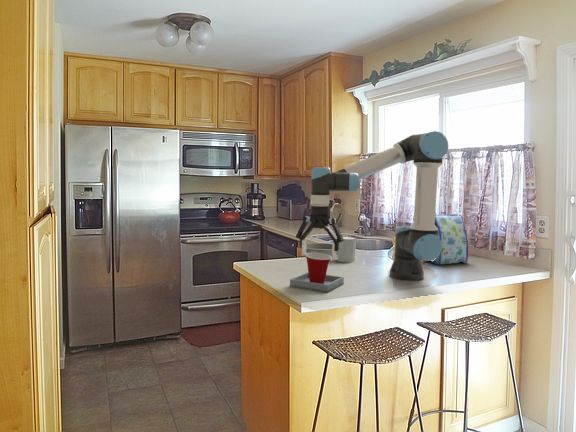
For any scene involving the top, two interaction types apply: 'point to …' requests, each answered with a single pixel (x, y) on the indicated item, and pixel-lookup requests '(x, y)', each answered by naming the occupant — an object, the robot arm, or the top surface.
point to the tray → (328, 285)
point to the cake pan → (319, 248)
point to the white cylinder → (347, 250)
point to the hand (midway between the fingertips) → (318, 257)
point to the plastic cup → (317, 266)
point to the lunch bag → (451, 239)
